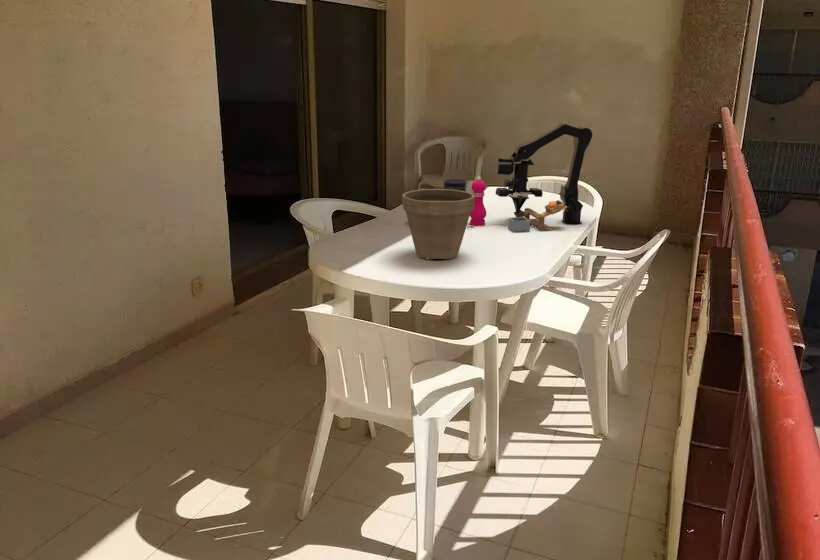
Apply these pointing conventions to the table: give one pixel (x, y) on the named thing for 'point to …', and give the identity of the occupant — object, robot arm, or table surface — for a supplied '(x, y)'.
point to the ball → (552, 204)
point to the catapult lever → (548, 212)
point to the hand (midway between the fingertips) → (517, 212)
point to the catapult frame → (538, 223)
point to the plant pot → (437, 220)
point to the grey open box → (519, 224)
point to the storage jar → (455, 184)
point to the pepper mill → (478, 203)
